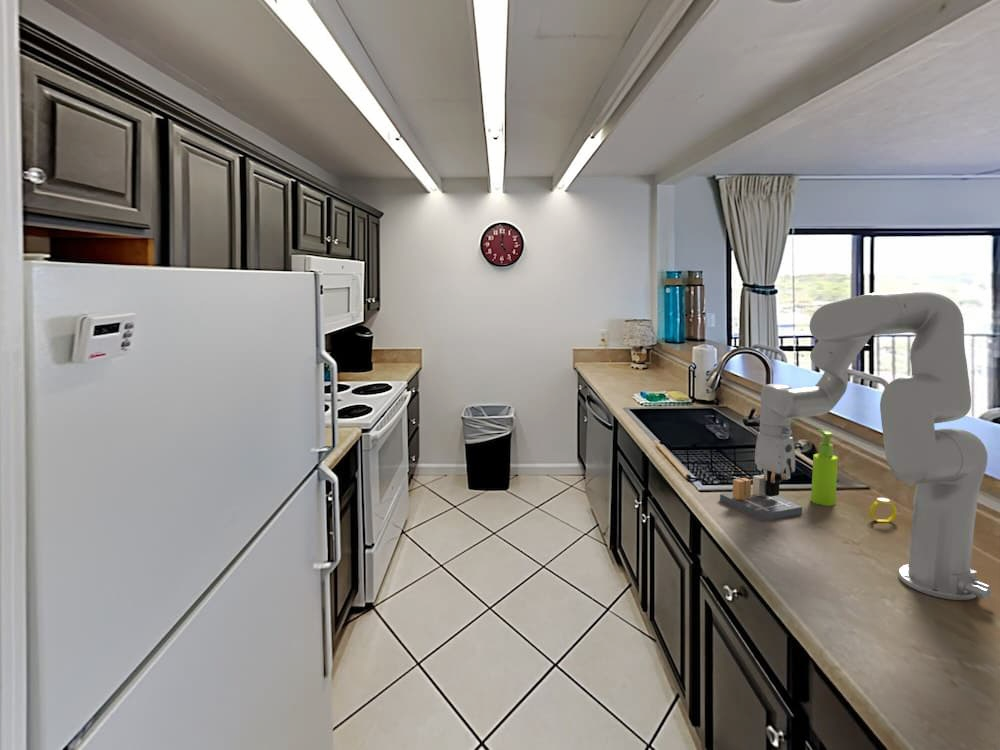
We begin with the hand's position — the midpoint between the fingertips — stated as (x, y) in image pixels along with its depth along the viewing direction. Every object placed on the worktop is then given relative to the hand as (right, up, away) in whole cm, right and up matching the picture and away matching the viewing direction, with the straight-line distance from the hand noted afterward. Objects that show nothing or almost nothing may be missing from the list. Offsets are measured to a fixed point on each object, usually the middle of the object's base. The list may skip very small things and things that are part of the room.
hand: (772, 494), depth 153 cm
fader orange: (-8, -1, +1) cm, 8 cm away
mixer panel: (-3, -3, 0) cm, 5 cm away
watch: (+22, -5, -11) cm, 26 cm away
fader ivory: (-1, 0, +4) cm, 4 cm away
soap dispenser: (+16, -3, +3) cm, 16 cm away
